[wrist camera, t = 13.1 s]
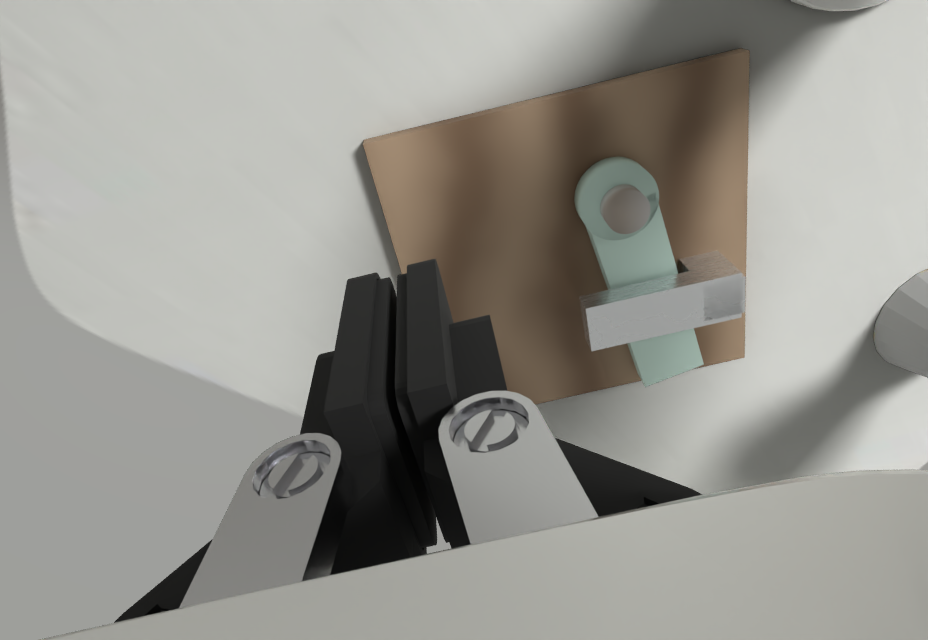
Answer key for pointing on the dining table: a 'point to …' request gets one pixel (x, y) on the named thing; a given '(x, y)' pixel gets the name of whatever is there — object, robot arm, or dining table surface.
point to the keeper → (665, 303)
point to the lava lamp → (905, 326)
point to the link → (635, 261)
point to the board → (570, 208)
